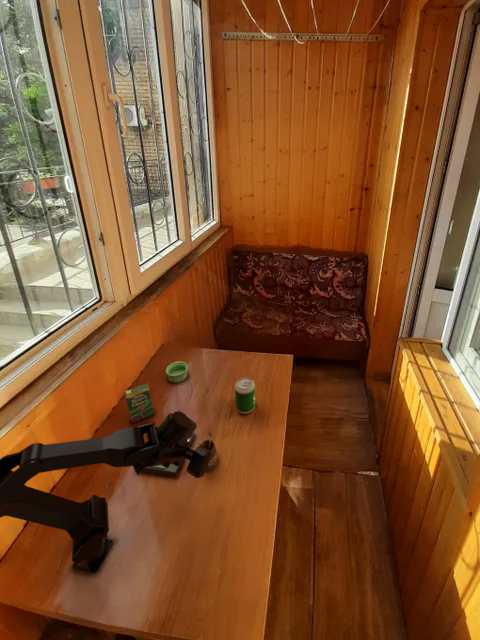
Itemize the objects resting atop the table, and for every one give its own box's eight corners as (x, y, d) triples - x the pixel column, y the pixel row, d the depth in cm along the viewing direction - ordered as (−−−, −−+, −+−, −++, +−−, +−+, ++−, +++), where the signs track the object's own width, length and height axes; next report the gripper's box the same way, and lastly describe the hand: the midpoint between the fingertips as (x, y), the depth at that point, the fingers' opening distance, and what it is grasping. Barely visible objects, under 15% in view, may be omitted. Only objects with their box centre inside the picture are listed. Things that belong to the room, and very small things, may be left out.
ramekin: (167, 371, 139) (166, 363, 137) (188, 367, 141) (187, 359, 140) (166, 385, 131) (165, 377, 129) (188, 381, 133) (187, 373, 132)
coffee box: (130, 424, 113) (124, 396, 108) (130, 418, 115) (124, 390, 110) (154, 414, 117) (149, 387, 112) (153, 409, 119) (148, 382, 114)
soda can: (252, 417, 116) (251, 392, 112) (233, 413, 117) (231, 388, 113) (258, 401, 123) (257, 377, 119) (240, 398, 124) (238, 374, 120)
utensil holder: (194, 468, 98) (191, 440, 94) (205, 450, 103) (202, 423, 99) (211, 474, 96) (208, 446, 92) (221, 456, 101) (219, 428, 97)
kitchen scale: (176, 476, 95) (175, 471, 94) (139, 471, 97) (138, 465, 96) (195, 436, 108) (194, 431, 107) (163, 432, 110) (162, 426, 109)
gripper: (203, 433, 78) (232, 432, 91) (152, 405, 87) (186, 407, 100) (183, 483, 75) (216, 474, 87) (132, 448, 83) (170, 445, 96)
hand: (197, 448), depth 93 cm, fingers open, 9 cm apart
